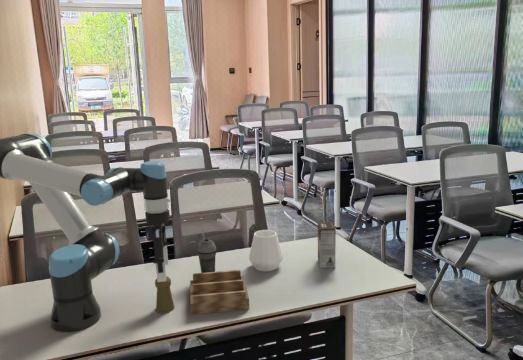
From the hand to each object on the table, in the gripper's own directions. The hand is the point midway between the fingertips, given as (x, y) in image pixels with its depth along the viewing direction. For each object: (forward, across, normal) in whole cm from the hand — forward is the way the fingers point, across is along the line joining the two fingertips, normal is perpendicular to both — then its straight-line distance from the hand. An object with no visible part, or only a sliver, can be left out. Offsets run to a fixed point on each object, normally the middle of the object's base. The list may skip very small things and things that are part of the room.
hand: (163, 272), depth 159 cm
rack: (+13, +3, -18) cm, 22 cm away
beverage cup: (+13, +20, -15) cm, 28 cm away
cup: (+13, +27, -38) cm, 48 cm away
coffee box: (+14, +25, -62) cm, 68 cm away
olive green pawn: (+13, 0, 0) cm, 13 cm away
